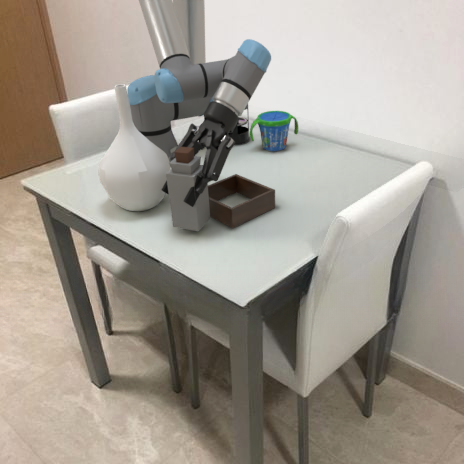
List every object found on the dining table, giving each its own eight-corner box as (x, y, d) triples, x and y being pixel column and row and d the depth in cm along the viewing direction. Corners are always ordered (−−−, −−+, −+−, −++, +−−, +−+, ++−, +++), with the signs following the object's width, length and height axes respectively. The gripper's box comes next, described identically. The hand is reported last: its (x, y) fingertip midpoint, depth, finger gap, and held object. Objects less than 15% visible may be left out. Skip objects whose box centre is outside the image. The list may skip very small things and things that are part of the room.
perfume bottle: (172, 227, 120) (163, 154, 109) (185, 214, 125) (177, 143, 114) (198, 231, 118) (191, 157, 107) (210, 218, 123) (204, 145, 112)
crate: (195, 209, 130) (193, 191, 127) (236, 191, 138) (235, 173, 135) (232, 228, 121) (231, 209, 118) (275, 207, 129) (275, 189, 126)
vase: (183, 190, 140) (170, 75, 122) (161, 221, 126) (142, 97, 108) (122, 186, 143) (100, 75, 125) (94, 217, 129) (65, 96, 111)
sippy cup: (253, 156, 157) (252, 123, 151) (247, 144, 165) (246, 113, 159) (302, 151, 158) (303, 118, 152) (293, 139, 167) (294, 108, 160)
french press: (249, 145, 164) (247, 70, 150) (221, 146, 165) (216, 71, 151) (250, 133, 174) (248, 61, 160) (222, 134, 174) (218, 62, 160)
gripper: (266, 127, 110) (215, 219, 112) (206, 109, 123) (161, 192, 124) (248, 108, 104) (194, 205, 106) (187, 91, 117) (140, 178, 118)
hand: (176, 198), depth 115 cm, fingers closed on perfume bottle, 8 cm apart
